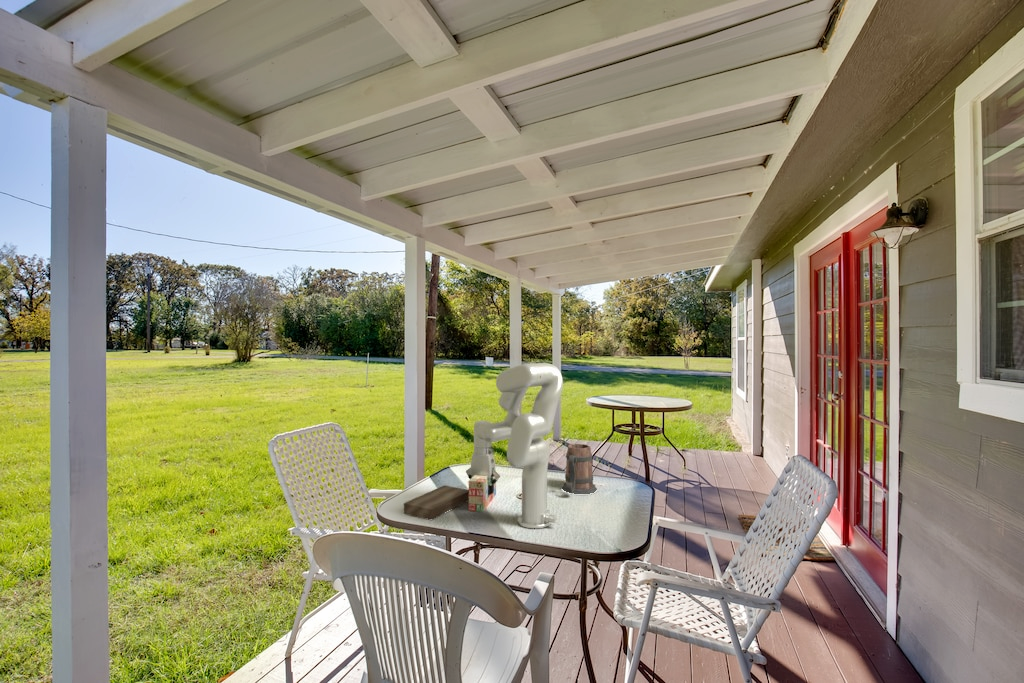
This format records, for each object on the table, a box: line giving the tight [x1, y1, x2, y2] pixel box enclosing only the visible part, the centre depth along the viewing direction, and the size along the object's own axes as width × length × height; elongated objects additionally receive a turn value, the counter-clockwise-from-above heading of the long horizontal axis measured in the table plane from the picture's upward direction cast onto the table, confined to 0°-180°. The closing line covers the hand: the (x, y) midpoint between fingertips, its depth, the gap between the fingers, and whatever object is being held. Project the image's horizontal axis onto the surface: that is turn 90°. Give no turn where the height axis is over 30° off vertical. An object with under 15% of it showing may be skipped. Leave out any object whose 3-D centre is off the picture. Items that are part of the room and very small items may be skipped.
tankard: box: [561, 443, 598, 494], centre depth 209 cm, size 24×17×20 cm
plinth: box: [403, 485, 469, 520], centre depth 189 cm, size 14×26×4 cm, turn 151°
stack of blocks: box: [467, 474, 497, 513], centre depth 194 cm, size 21×6×12 cm, turn 168°
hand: (482, 492), depth 193 cm, fingers closed on stack of blocks, 7 cm apart
